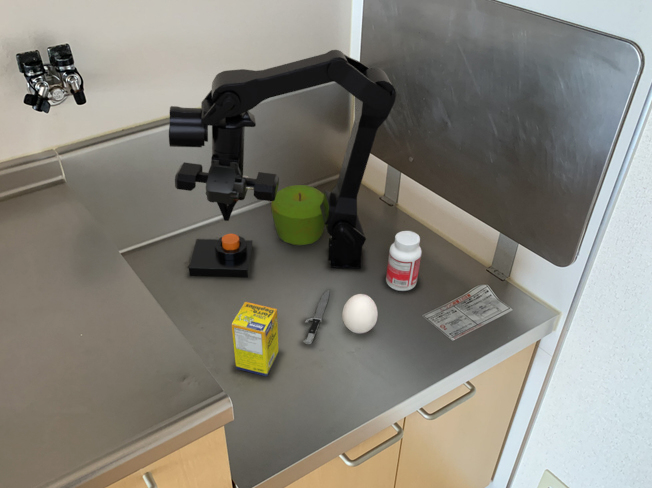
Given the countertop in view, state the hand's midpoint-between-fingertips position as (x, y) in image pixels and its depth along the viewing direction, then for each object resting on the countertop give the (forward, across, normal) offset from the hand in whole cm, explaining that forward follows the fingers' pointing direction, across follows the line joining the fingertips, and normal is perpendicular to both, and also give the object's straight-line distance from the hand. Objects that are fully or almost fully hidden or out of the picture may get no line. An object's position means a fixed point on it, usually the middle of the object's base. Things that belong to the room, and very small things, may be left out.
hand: (226, 219), depth 119 cm
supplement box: (+12, +11, -26) cm, 30 cm away
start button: (+8, 0, +3) cm, 9 cm away
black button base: (+12, -1, +2) cm, 12 cm away
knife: (+11, +20, -13) cm, 26 cm away
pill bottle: (+9, +36, -1) cm, 37 cm away
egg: (+10, +28, -15) cm, 33 cm away
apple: (+11, +14, +13) cm, 22 cm away
